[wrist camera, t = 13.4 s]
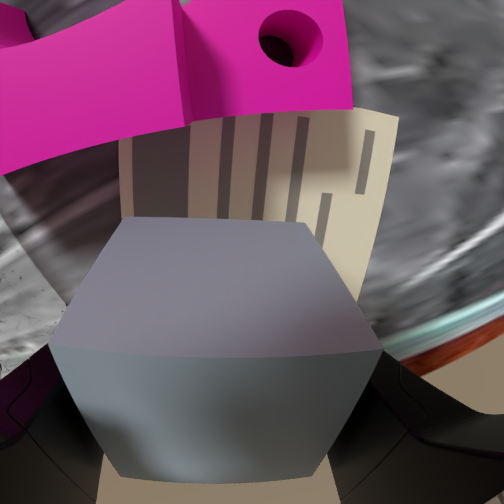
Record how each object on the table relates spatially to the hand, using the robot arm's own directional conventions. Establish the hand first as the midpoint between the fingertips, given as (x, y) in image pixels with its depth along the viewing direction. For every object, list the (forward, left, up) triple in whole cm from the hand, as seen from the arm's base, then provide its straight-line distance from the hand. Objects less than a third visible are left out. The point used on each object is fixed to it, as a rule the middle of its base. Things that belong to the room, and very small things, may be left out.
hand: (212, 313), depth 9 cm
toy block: (+4, -4, -3) cm, 6 cm away
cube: (0, 0, -1) cm, 1 cm away
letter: (-2, -1, -6) cm, 6 cm away
